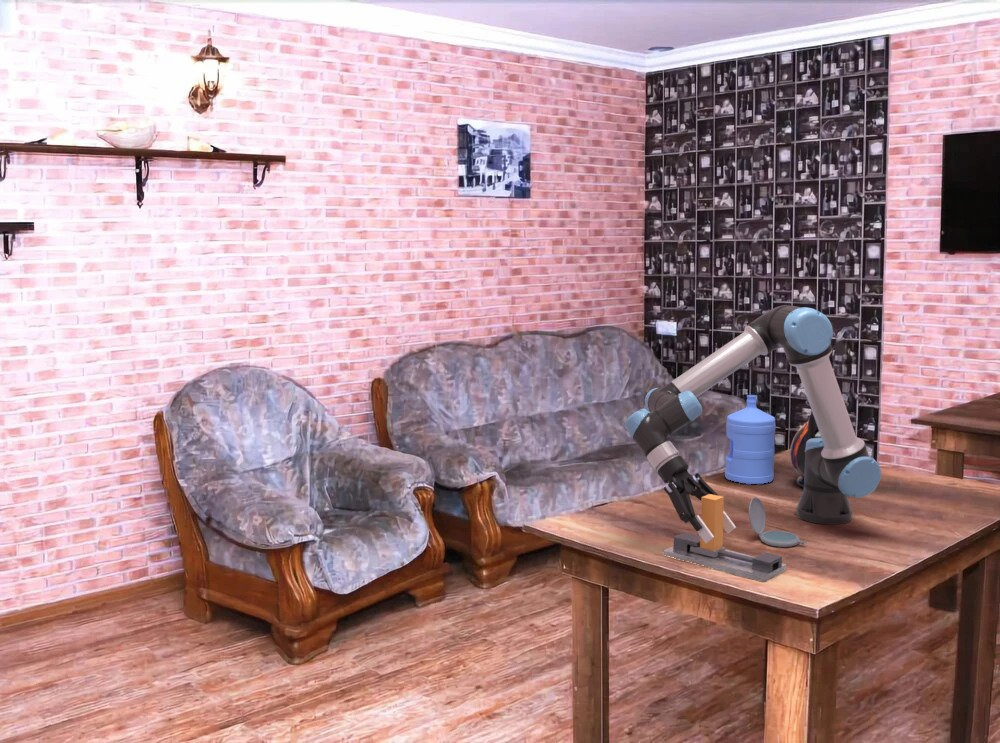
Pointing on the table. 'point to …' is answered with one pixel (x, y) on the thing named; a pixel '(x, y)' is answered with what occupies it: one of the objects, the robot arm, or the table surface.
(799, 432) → the amphora vase
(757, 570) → the base
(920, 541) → the table surface
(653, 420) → the robot arm
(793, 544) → the pocket watch
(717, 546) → the handle
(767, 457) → the water jug
